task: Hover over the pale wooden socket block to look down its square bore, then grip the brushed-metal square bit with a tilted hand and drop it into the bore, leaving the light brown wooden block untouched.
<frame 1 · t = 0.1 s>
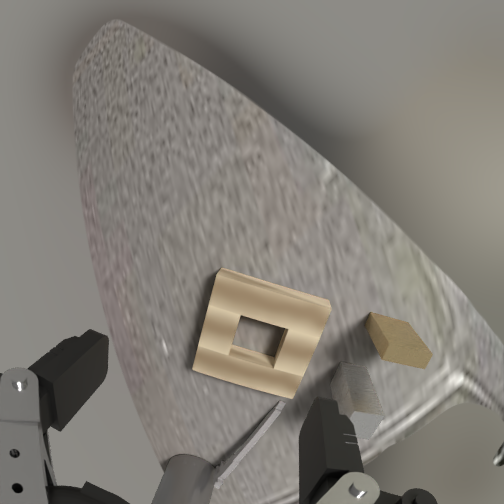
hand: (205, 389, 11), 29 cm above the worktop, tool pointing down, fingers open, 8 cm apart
socket block: (259, 332, 42), on the worktop
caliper: (247, 437, 47), on the worktop
light brown wooden block: (387, 324, 40), on the worktop
square bit: (348, 375, 42), on the worktop
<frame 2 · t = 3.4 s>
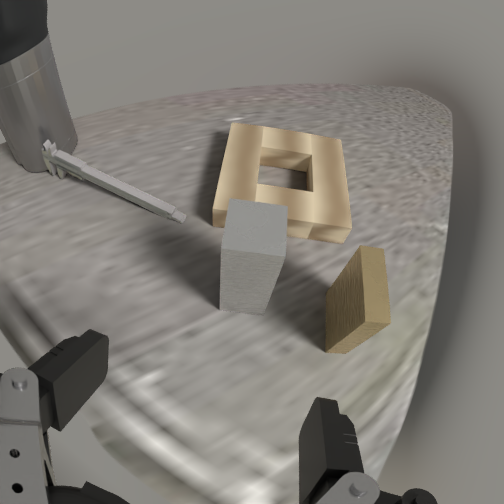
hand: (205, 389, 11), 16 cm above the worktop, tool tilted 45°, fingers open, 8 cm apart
socket block: (281, 185, 38), on the worktop
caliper: (110, 195, 35), on the worktop
light brown wooden block: (335, 322, 30), on the worktop
square bit: (243, 293, 31), on the worktop
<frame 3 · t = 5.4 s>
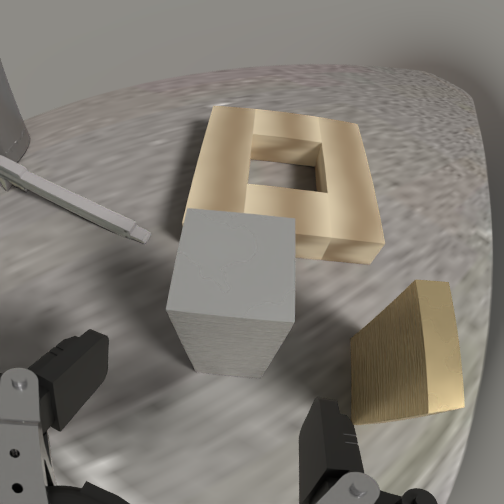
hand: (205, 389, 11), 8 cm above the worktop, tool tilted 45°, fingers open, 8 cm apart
socket block: (282, 186, 28), on the worktop
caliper: (58, 208, 25), on the worktop
light brown wooden block: (365, 381, 19), on the worktop
square bit: (231, 345, 20), on the worktop
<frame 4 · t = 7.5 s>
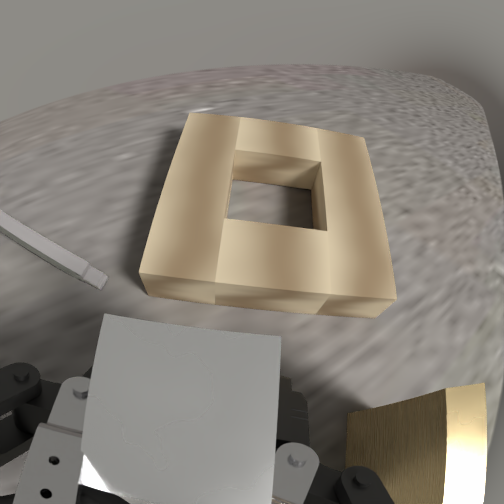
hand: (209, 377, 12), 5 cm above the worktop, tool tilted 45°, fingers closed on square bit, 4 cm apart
socket block: (270, 215, 23), on the worktop
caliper: (10, 237, 20), on the worktop
light brown wooden block: (361, 461, 15), on the worktop
square bit: (201, 424, 15), on the worktop, touching gripper
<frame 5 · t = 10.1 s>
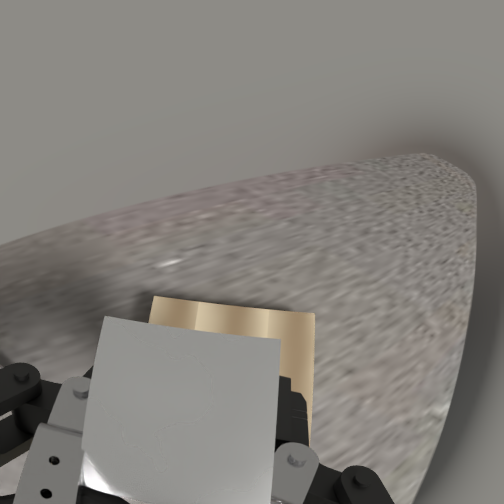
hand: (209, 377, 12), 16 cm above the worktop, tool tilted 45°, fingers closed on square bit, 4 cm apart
socket block: (225, 391, 26), on the worktop
square bit: (201, 425, 15), point 11 cm above the worktop, touching gripper
when the fingers open (7 cm above the worktop, at t = 12.8 s): square bit drops 2 cm, resting in socket block.
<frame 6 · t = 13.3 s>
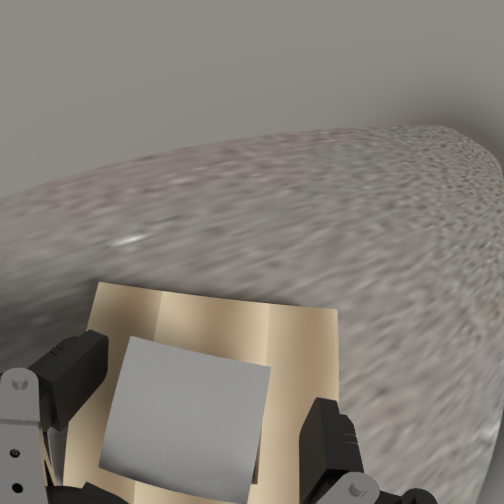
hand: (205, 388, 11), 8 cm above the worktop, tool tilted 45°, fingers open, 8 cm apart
socket block: (203, 425, 17), on the worktop
square bit: (201, 426, 17), resting in socket block
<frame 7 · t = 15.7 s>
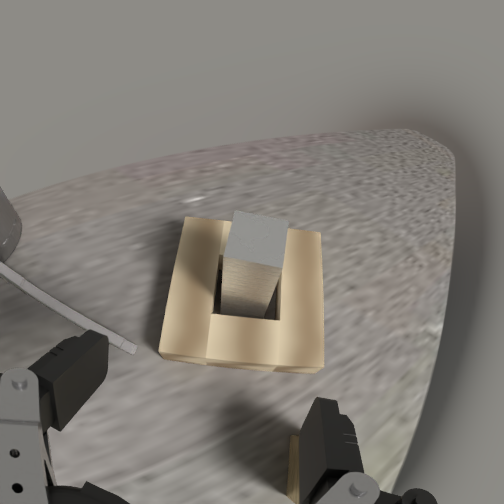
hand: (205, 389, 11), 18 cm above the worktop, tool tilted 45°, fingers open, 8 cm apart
socket block: (245, 299, 32), on the worktop
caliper: (57, 310, 29), on the worktop
light brown wooden block: (299, 466, 24), on the worktop
square bit: (244, 300, 32), resting in socket block
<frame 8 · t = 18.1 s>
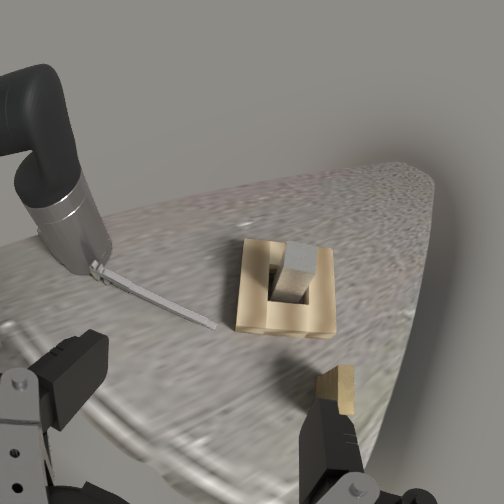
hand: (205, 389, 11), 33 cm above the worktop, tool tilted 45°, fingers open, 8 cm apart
socket block: (284, 292, 50), on the worktop
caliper: (152, 303, 47), on the worktop
light brown wooden block: (322, 398, 41), on the worktop
square bit: (284, 293, 50), resting in socket block
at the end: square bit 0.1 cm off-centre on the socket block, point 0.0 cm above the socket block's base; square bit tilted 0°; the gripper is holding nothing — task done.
